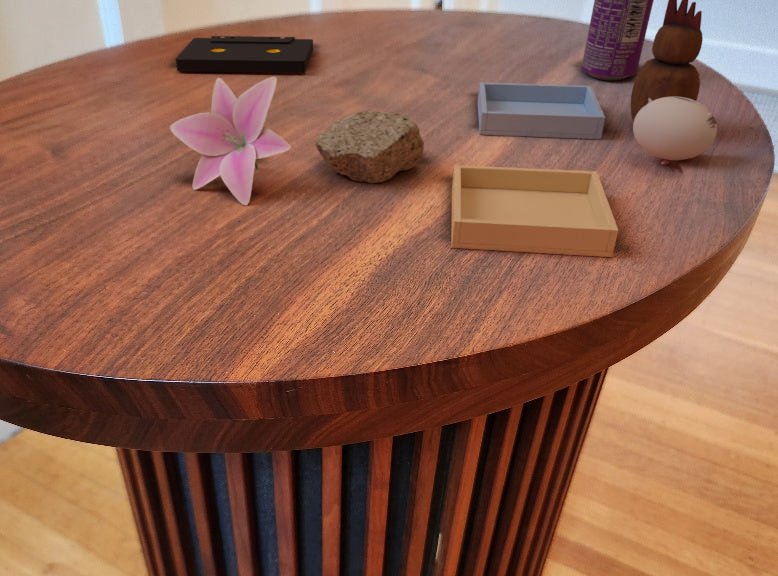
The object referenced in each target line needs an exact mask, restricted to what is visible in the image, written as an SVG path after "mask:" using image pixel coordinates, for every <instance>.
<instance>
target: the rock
mask: <svg viewBox="0 0 778 576" xmlns="http://www.w3.org/2000/svg"><path fill="white" fill-rule="evenodd" d="M314 145H315V146H316V149H317V150H318V151H317V152H318V153H319V155H320V156H321V157H322V158H323V160H324V161H325V162H326V164H328V166H329V167H330V169H331V170H333V171H334V172H335V173H339V174H340V175H343V176H347V177H348V178H349V179H350V180H352V181H357V182H360V183H361V182H367V183H370V184H379V183H384V182H386V181H388V180H391V179H392V178H393V177H394V176H395V175H396V174H397V173H398V172H401V171H407V170H410V169H412V168H413V167H415V166H416V165H417V163H418V162H420V160H421V159H422V157H423V153H424V145H425V142H424V140H423V138H422V135H421V133H420V128H419V126H418V125H417V123H415V122H414V121H413V120H412V119H411V118H410V117H408V116H406V115H402V114H399V113H394V112H393V111H388V110H387V111H384V112H382V111H376V110H366V111H365V110H363V111H359V110H358V111H356V112H355V113H353V114H352V115H350V116H346V117H343V118H340V119H339V120H337V121H335V122H333V124H332V125H331V126H330V128H329V129H327V130H326V131H325V132H324V133H322V134H320V135H319V136H318V138H317V139H316V141H315V142H314Z"/></svg>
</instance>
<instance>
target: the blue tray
mask: <svg viewBox="0 0 778 576" xmlns="http://www.w3.org/2000/svg"><path fill="white" fill-rule="evenodd" d="M477 116H478V131H479V132H478V133H479V135H480V136H504V137H505V136H506V137H530V138H531V137H533V138H555V139H556V138H557V139H582V140H601V139H602V135H603V130H604V127H605V121H606V115H605V113H604V111H603V109H602V107H601V104H600V102H599V100H598V98H597V95H596V94H595V91H594V89H593V87H592V85H582V84H581V85H580V84H579V85H576V84H549V83H547V84H545V83H516V82H484V81H483V82H482V81H481V82H479V86H478V95H477Z"/></svg>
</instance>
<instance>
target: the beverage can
mask: <svg viewBox="0 0 778 576" xmlns="http://www.w3.org/2000/svg"><path fill="white" fill-rule="evenodd" d="M654 1H655V0H593V7H592V11H591V15H590V22H589V26H588V33H587V37H586V42H585V46H584V47H585V48H584V51H583V52H584V53H583V58H582V63H581V70H582V71H583V72H585V73H587V74H588V76H590V77H591V78H594V79H597V80H601V81H621V80H625V79H627V78H629V77H631V76H634V75H635V74H636V75H637V74H638V69H639V66H640V65H639V64H640V60H641V55H642V52H643V46H644V43H645V39H646V35H647V30H648V26H649V22H650V18H651V13H652V10H653V5H654Z"/></svg>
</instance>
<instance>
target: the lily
mask: <svg viewBox="0 0 778 576" xmlns="http://www.w3.org/2000/svg"><path fill="white" fill-rule="evenodd" d="M277 82H278V79H277V77H276V76H269V77H268V78H265V79H263V80H261V81H259V82H257V83H256V84H254V85H252V86H251V87H249V88H248V89H246V90H245V91H244V92H242V93H241V94H240V95H239V96H238V97H237V96H235V94H234V92H233V91H232V89H231V88H230V87H229V86H228V84H227V83H226V82H225V81H224V80H223V78H221V77H217V78H216V79H215V82H214V85H213V90H212V96H211V105H210V106H211V109H210V110H211V111H207V112H199V113H195V114H191V115H188V116H185V117H183V118H180V119H178V120H176V121H173V123H171V125H170V126H169V130H170V132H171V133H172V134H173V135H174V136H175V137H176V138H177V139H178V140H179V141H181V142H182V143H183V144H185V146H187V147H189V149H191V150H193V151H194V152H196V153H198V154H201V156H200V157H199V160H198V163H197V166H196V169H195V170H194V171H195V172H194V176H193V179H192V186H191V187H192V190H193V191H194V190H195V191H196V190H198V189H200V188H202V187H204V186H206V185H207V184H209V183H210V182H212V181H214V180H215V179H217V178H219V177H221V178H220V179H221V180H222V181H223V183H224V185H225V186H226V187H227V189H228V190H229V191H230V193H231V195H233V196H234V198H235V199H236V200H237V201H238V202H239V203H240V204H241V205H243V206H248V204H249V203H250V200H251V197H252V190H253V181H254V173H255V169H256V170H257V169H259V166H258V163H257V160H259V159H264V158H268V157H273V156H275V155H276V156H277V155H280V154H282V153H285V152H288V151H289V150H290V149H292V147H291V145H290V144H289V143H288V142H287V141H286V140H285V139H284V138H283V137H281V135H279V134H277V133H276V132H275V131H273V130H272V129H270V128H268V127H266V126H265V122H266V119H267V115H268V112H269V109H270V106H271V102H272V101H273V97H274V94H275V92H276V87H277V84H278V83H277Z"/></svg>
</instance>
